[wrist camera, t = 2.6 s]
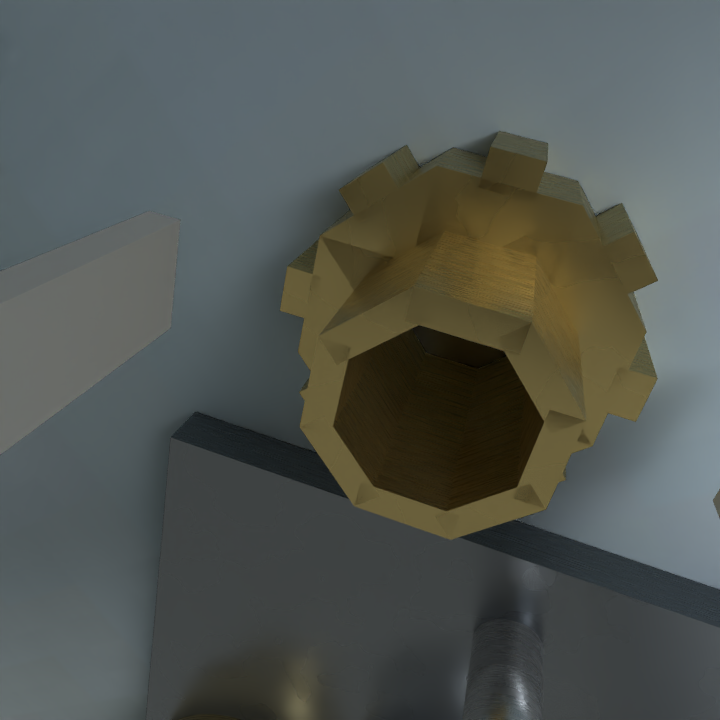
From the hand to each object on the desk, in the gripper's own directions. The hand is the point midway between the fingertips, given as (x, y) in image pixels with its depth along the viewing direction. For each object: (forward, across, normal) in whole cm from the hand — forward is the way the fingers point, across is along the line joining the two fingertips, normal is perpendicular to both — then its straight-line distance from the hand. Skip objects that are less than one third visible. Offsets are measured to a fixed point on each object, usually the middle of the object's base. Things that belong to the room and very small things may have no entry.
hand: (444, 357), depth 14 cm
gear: (+3, 0, 0) cm, 3 cm away
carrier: (+3, +4, -17) cm, 17 cm away
